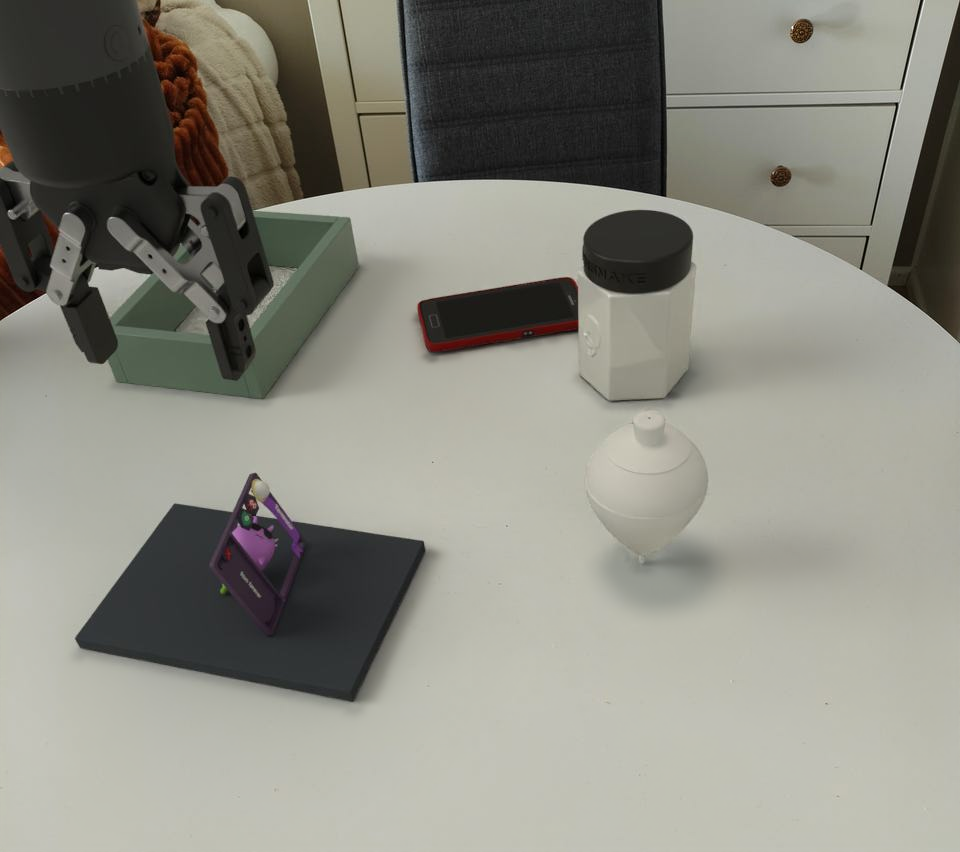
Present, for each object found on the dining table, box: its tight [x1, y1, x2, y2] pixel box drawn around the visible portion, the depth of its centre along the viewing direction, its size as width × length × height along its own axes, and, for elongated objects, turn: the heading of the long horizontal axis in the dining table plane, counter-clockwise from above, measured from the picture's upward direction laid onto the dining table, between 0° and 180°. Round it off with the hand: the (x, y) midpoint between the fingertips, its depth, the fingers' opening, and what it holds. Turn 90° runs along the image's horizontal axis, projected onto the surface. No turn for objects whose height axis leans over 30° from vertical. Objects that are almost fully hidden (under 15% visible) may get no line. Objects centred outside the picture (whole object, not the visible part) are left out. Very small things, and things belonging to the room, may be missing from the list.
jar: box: [577, 209, 697, 402], centre depth 81 cm, size 9×8×12 cm
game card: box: [209, 472, 306, 636], centre depth 68 cm, size 7×5×9 cm
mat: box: [74, 502, 426, 702], centre depth 71 cm, size 20×14×1 cm
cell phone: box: [416, 276, 578, 353], centre depth 92 cm, size 8×15×1 cm, turn 100°
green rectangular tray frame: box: [107, 210, 360, 400], centre depth 94 cm, size 14×22×5 cm, turn 163°
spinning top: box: [584, 409, 709, 565], centre depth 66 cm, size 8×8×12 cm
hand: (169, 364), depth 58 cm, fingers open, 8 cm apart
